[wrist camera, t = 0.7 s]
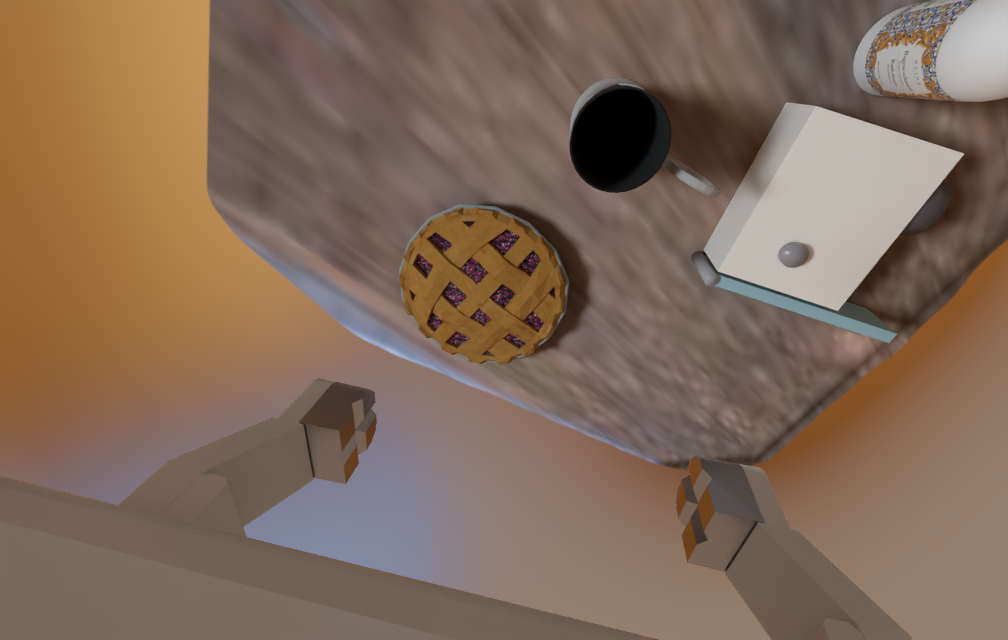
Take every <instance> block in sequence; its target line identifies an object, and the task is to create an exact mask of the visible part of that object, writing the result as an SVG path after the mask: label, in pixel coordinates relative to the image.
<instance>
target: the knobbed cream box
mask: <svg viewBox="0 0 1008 640" xmlns="http://www.w3.org/2000/svg"><path fill="white" fill-rule="evenodd" d="M963 155H964V153H961V152H958V151H954V150H951V149H948V148H945V147H942V146H939V145H936V144H933V143H930V142H926V141H923V140H920V139H917V138H914V137H911V136H908V135H905V134H902V133H898V132H895V131H892V130H889V129H886V128H883V127H880V126H877V125H874V124H870V123H867V122H864V121H861V120H858V119H855V118H852V117H849V116H846V115H842V114H839V113H836V112H833V111H830V110H827V109H824V108H821V107H818V106H812V105H804V104H796V103H789V102H786V104H785V105H784V107H783V109H782V111H781V112H780V114H779V116H778V118H777V120H776V121H775V123H774V125H773V127H772V129H771V130H770V132H769V134H768V136H767V137H766V139H765V141H764V143H763V145H762V146H761V148H760V150H759V152H758V154H757V155H756V157H755V159H754V161H753V162H752V164H751V166H750V168H749V170H748V171H747V173H746V175H745V177H744V179H743V180H742V182H741V184H740V186H739V187H738V189H737V191H736V193H735V195H734V196H733V198H732V200H731V202H730V204H729V205H728V207H727V209H726V211H725V212H724V214H723V216H722V218H721V220H720V221H719V223H718V225H717V227H716V229H715V230H714V232H713V234H712V236H711V237H710V239H709V241H708V243H707V245H706V246H705V248H704V251H705V253H706V254H707V256H708V257H709V259H710V260H711V262H712V264H713V265H714V267H715V268H716V270H717V271H718V272H721V273H724V274H727V275H730V276H733V277H736V278H739V279H742V280H745V281H749V282H752V283H755V284H758V285H761V286H764V287H767V288H770V289H773V290H776V291H779V292H782V293H785V294H788V295H791V296H794V297H797V298H800V299H803V300H806V301H809V302H812V303H815V304H818V305H821V306H824V307H827V308H830V309H833V310H837V311H838V310H839V309H840V308H841V306H842V305H843V304H844V303H845V301H846V300H847V299H848V298H849V296H850V295H851V294H852V293H853V292H854V290H855V289H856V288H857V287H858V285H859V284H860V283H861V282H862V280H863V279H864V278H865V277H866V275H867V274H868V273H869V272H870V270H871V269H872V268H873V267H874V265H875V264H876V263H877V262H878V260H879V259H880V258H881V257H882V256H883V254H884V253H885V252H886V251H887V249H888V248H889V247H890V246H891V244H892V243H893V242H894V241H895V239H896V238H897V237H898V236H899V234H903V235H909V236H910V235H915V234H918V233H921V232H923V231H925V230H926V229H928V228H929V227H931V226H932V225H933V224H934V223H936V222H937V221H938V220H939V218H940V217H941V216H942V215H943V214H944V212H945V211H946V209H947V207H948V205H949V203H950V199H951V190H950V187H949V186H948V185H947V184H945V183H942V181H943V180H944V179H945V177H946V176H947V175H948V174H949V172H950V171H951V170H952V169H953V167H954V166H955V165H956V164H957V162H958V161H959V160H960V159H961V157H962V156H963Z"/></svg>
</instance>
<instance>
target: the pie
mask: <svg viewBox="0 0 1008 640" xmlns="http://www.w3.org/2000/svg"><path fill="white" fill-rule="evenodd" d="M399 275H400V286H401V294H402V301H403V306H404V308H405V310H406V311H407V313H408V315H411V316H412V318H413V319H414V321H415V323H416V324H417V326H418V327H419V330H420V331H421V333H422V334H423V335H424V336H425V337H426V338H432V339H433V340H434V341H435V342H437V343H438V344H439V345H440V346H441V348H442V350H444V351H446V352H448V353H450V354H452V355H453V354H458V355H460V356H462V357H465V358H467V359H468V360H469V361H471V362H475V363H479V364H482V363H483V362H491V363H498V364H509V363H510V362H511V361H512V360H513V359H516V358H520V357H524V356H528V355H530V354H531V353H533V352H535V350H536V348H537V347H539V346H540V345H541V344H543V343H544V342H545V341H547V340H548V339H549V338H550V337H551V336H552V334H553V333H554V331H555V329H556V328H557V326H558V324H559V323H560V321H561V319H562V318H563V316H564V314H565V313H566V307H567V298H568V289H569V279H568V277H567V274H566V272H565V269H564V267H563V264H562V262H561V259H560V257H559V254H558V252H557V250H556V249H555V248H554V247H553V246H552V245H551V244H550V243H549V242H548V241H547V240H546V239H545V238H544V237H543V236H542V235H541V234H540V233H539V232H538V231H537V229H536V228H535V227H534V226H533V225H532V224H531V223H529V222H527V221H525V220H523V219H521V218H519V217H517V216H514V215H512V214H510V213H508V212H506V211H504V210H502V209H500V208H498V207H496V206H483V205H469V204H459V205H456V206H454V207H452V208H449V209H447V210H445V211H443V212H440V213H438V214H436V215H434V216H431V217H429V218H428V220H427V221H426V222H425V223H424V224H423V225H422V227H421V228H420V229H419V230H418V231H417V232H416V233H415V235H414V236H413V237H412V238H411V239H410V240H409V242H408V245H407V248H406V251H405V254H404V257H403V260H402V263H401V266H400V269H399Z"/></svg>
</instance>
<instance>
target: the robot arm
mask: <svg viewBox="0 0 1008 640" xmlns="http://www.w3.org/2000/svg"><path fill="white" fill-rule="evenodd" d="M374 403H375V395H374V392H373V391H372V390H369V389H365V388H360V387H356V386H352V385H347V384H343V383H339V382H332V381H328V380H324V379H320V378H319V379H316V380H314V381H312V382H311V383H310V385H309V386H308V387H307V388H306V389H305V390H304V391H303V392H302V393H301V394H300V395H299V396H298V397H297V399H296V400H295V401H294V402H293V403H292V404H291V405H290V406H289V407H288V408H287V409H286V410H285V411H284V412H283V414H282V415H281V416H280V417H279V418H278V419H277V418H270V419H268V420H265V421H263V422H261V423H258V424H256V425H253V426H251V427H248V428H246V429H244V430H241V431H239V432H237V433H234V434H232V435H229V436H227V437H224V438H222V439H220V440H217V441H215V442H212V443H210V444H208V445H205V446H203V447H200V448H198V449H196V450H193V451H191V452H189V453H186V454H184V455H182V456H179V457H177V458H174V459H172V460H169V461H167V462H166V463H165V464H164V465H163V466H162V467H160V468H159V469H158V470H157V471H156V472H155V473H154V474H153V475H151V477H149V478H148V479H147V480H146V481H145V482H144V483H143V484H141V485H140V486H139V487H138V488H137V489H136V490H135V491H134V492H132V493H131V494H130V495H129V496H128V497H127V498H126V499H125V500H123V501H122V502H121V503H120V504H119V505H115V504H111V503H107V502H103V501H99V500H95V499H91V498H87V497H83V496H79V495H75V494H71V493H67V492H62V491H59V490H55V489H51V488H46V487H43V486H39V485H35V484H31V483H27V482H23V481H18V480H14V479H11V478H7V477H3V476H0V640H658V639H654V638H650V637H645V636H642V635H638V634H634V633H629V632H626V631H622V630H618V629H613V628H609V627H605V626H601V625H597V624H593V623H589V622H585V621H581V620H577V619H573V618H569V617H565V616H561V615H557V614H552V613H549V612H545V611H541V610H537V609H533V608H529V607H525V606H521V605H517V604H512V603H509V602H505V601H500V600H497V599H493V598H488V597H485V596H480V595H476V594H472V593H468V592H464V591H460V590H456V589H452V588H448V587H444V586H440V585H436V584H432V583H428V582H424V581H420V580H416V579H412V578H408V577H404V576H400V575H396V574H392V573H388V572H384V571H380V570H376V569H372V568H368V567H364V566H360V565H356V564H352V563H348V562H344V561H339V560H336V559H332V558H328V557H324V556H319V555H316V554H312V553H308V552H304V551H300V550H295V549H292V548H288V547H283V546H280V545H276V544H272V543H268V542H264V541H259V540H255V539H252V538H247V537H246V534H245V531H244V528H243V527H244V526H245V525H247V524H248V523H250V522H251V521H253V520H254V519H256V518H257V517H259V516H260V515H262V514H263V513H265V512H266V511H268V510H269V509H270V508H272V507H273V506H275V505H276V504H278V503H279V502H281V501H282V500H284V499H285V498H287V497H288V496H290V495H291V494H293V493H294V492H296V491H297V490H299V489H300V488H301V487H303V486H305V485H306V484H308V483H309V482H311V481H312V480H313V478H318V479H323V480H328V481H333V482H338V483H343V484H346V483H347V481H348V480H349V478H350V477H351V475H352V473H353V472H354V470H355V468H356V467H357V465H358V455H359V454H360V453H362V452H364V451H366V450H367V449H368V447H369V445H370V443H371V442H372V439H373V436H374V433H375V431H376V423H377V420H376V414H375V413H374V411H373V410H372V409H371V408H372V406H373V405H374ZM688 470H689V474H690V475H689V476H687V477H685V478H683V479H682V480H681V482H680V485H679V487H678V492H677V499H676V504H677V513H678V518H679V520H680V521H681V522H682V523H683V524H684V525H685V527H686V528H685V530H684V532H683V534H682V539H683V544H684V549H685V553H686V559H687V562H688V563H692V564H696V565H700V566H704V567H708V568H712V569H716V570H720V571H723V572H726V573H725V574H726V576H727V577H728V579H729V580H730V582H731V583H732V584H733V586H734V587H735V588H736V590H737V591H738V593H739V594H740V596H741V597H742V599H743V600H744V601H745V603H746V604H747V606H748V607H749V608H750V610H751V611H752V613H753V614H754V615H755V617H756V618H757V620H758V621H759V622H760V624H761V625H762V627H763V628H764V629H765V631H766V632H767V634H768V635H769V637H770V638H771V639H772V640H912V638H911V636H910V635H909V634H908V633H907V632H906V631H905V630H904V629H903V628H901V627H900V626H899V625H898V624H897V623H896V622H895V621H894V620H893V619H892V618H891V617H890V616H889V615H888V614H886V613H885V612H884V611H883V610H882V609H881V608H880V607H879V606H878V605H877V604H876V603H875V602H874V601H872V600H871V599H870V598H869V597H868V596H867V595H866V594H865V593H864V592H863V591H862V590H861V589H859V588H858V587H857V586H856V585H855V584H854V583H853V582H852V581H851V580H850V579H849V578H848V577H847V576H846V575H844V574H843V573H842V572H841V571H840V570H839V569H838V568H837V567H836V566H835V565H834V564H833V563H831V562H830V561H829V560H828V559H827V558H826V557H825V556H824V555H823V554H822V553H821V552H820V551H819V550H818V549H817V548H815V547H814V546H813V545H812V544H811V543H810V542H809V541H808V540H807V539H806V538H805V537H804V536H803V535H801V534H800V533H799V532H798V531H795V530H791V529H790V527H789V524H788V522H787V520H786V518H785V515H784V513H783V511H782V509H781V506H780V505H779V502H778V500H777V498H776V495H775V493H774V491H773V489H772V486H771V484H770V482H769V480H768V478H767V475H766V473H765V472H764V471H763V470H762V469H761V468H757V467H752V466H747V465H742V464H736V463H730V462H725V461H720V460H715V459H710V458H705V457H700V456H694V457H693V458H692V459H691V461H690V463H689V465H688Z"/></svg>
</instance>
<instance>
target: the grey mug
mask: <svg viewBox="0 0 1008 640" xmlns="http://www.w3.org/2000/svg"><path fill="white" fill-rule="evenodd" d="M670 143H671V126H670V121H669V118H668V115H667V112H666V111H665V109H664V107H663V106H662V104H661V103H660V102H659V101H658V100H657V99H656V98H655V97H654V96H652V95H651V94H650V93H649V92H647V91H646V90H645V89H644V88H643V87H642V86H641V85H639V84H638V83H637V82H635V81H633V80H630V79H628V78H623V77H611V78H606V79H603V80H601V81H598V82H596V83H595V84H593V85H591V86H590V87H589V88H588V89H587V90H586V91H585V92H584V93H583V94H582V95H581V96H580V98H579V99H578V101H577V103H576V104H575V107H574V109H573V112H572V116H571V121H570V134H569V145H570V155H571V159H572V163H573V165H574V167H575V169H576V171H577V173H578V174H579V175H580V177H581V178H582V179H583V180H584V181H585V182H586V183H588V184H589V185H591V186H592V187H594V188H596V189H598V190H601V191H605V192H614V193H618V192H626V191H629V190H632V189H635V188H637V187H639V186H641V185H643V184H644V183H646V182H647V181H648V180H650V179H651V178H652V177H653V176H654V175H655V174H656V173H657V171H658V170H659V169H660V168H661V166H663V167H665V168H666V169H668V170H669V171H670V172H671V173H672V174H673V175H674V176H676V177H677V178H678V179H680V180H681V181H683V182H684V183H686V184H688V185H689V186H691V187H693V188H694V189H696V190H698V191H700V192H702V193H704V194H706V195H708V196H710V197H712V198H716V197H717V196H718V195H719V193H720V192H721V190H720V189H719V188H718V187H717V186H715V185H714V184H713V183H712V182H710V181H709V180H707V179H706V178H705V177H703V176H702V175H700V174H699V173H697V172H696V171H694V170H693V169H691V168H689V167H688V166H686V165H685V164H683V163H681V162H680V161H678V160H677V159H675V158H673V157H672V156H670V155H669V154H668V151H669V148H670Z"/></svg>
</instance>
